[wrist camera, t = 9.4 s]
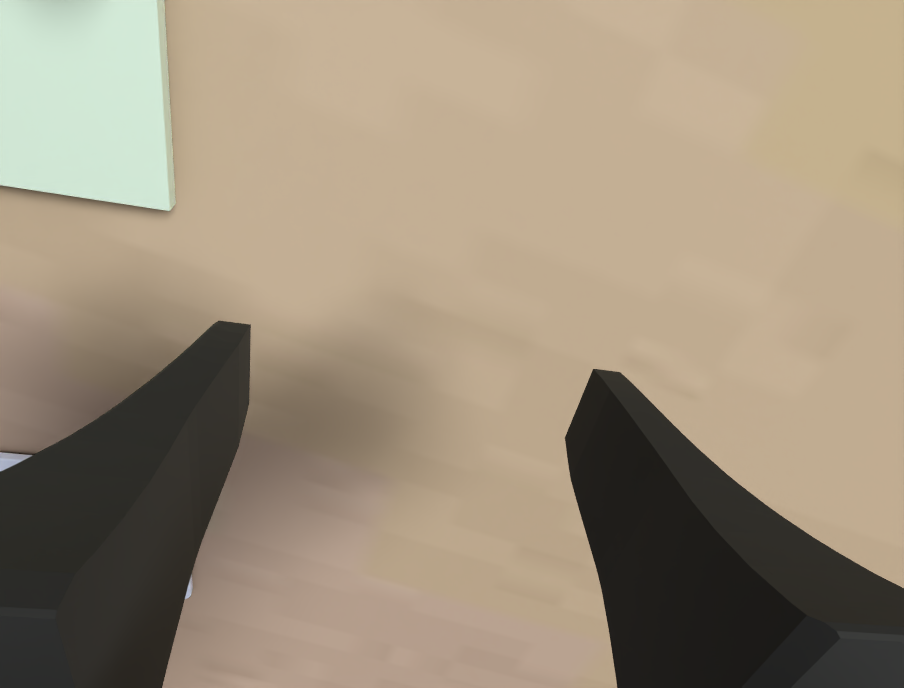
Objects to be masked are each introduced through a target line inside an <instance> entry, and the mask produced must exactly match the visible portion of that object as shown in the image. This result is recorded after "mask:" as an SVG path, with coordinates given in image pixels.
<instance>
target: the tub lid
mask: <svg viewBox="0 0 904 688" xmlns="http://www.w3.org/2000/svg"><path fill="white" fill-rule="evenodd" d="M0 185H3V186H10V187H16V188H23V189H29V190H36V191H42V192H49V193H55V194H62V195H68V196H75V197H81V198H88V199H94V200H101V201H108V202H114V203H121V204H127V205H134V206H140V207H147V208H153V209H160V210H166V211H170V210H171V209H172V208H173V206H174V205H175V204H176V201H175V183H174V165H173V147H172V129H171V112H170V94H169V76H168V58H167V41H166V23H165V5H164V0H0Z"/></svg>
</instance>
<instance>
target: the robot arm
mask: <svg viewBox="0 0 904 688" xmlns="http://www.w3.org/2000/svg"><path fill="white" fill-rule="evenodd" d="M250 328H251V325H248V324H241V323H233V322H225V321H218V322H216V323H215V324H213V325H212V326H211V327H210V328H209V329H208V330H207V331H206V332H205V333H204V334H203V335H201V336H200V337H199V338H198V339H197V340H196V341H195V342H194V343H193V344H192V345H191V346H190V347H189V348H187V349H186V350H185V351H184V352H183V353H182V354H181V355H180V356H178V357H177V358H176V359H175V360H174V361H173V362H171V363H170V364H169V365H168V366H167V367H166V368H164V369H163V370H162V371H161V372H160V373H158V374H157V375H156V376H155V377H154V378H152V379H151V380H150V381H149V382H147V383H146V384H145V385H143V386H142V387H141V388H139V389H138V390H137V391H135V392H134V393H133V394H131V395H130V396H129V397H127V398H126V399H125V400H123V401H122V402H121V403H119V404H118V405H117V406H115V407H114V408H112V409H111V410H109V411H108V412H106V413H105V414H104V415H102V416H101V417H99V418H98V419H96V420H94V421H93V422H91V423H90V424H88V425H87V426H85V427H83V428H82V429H80V430H78V431H77V432H75V433H74V434H72V435H70V436H68V437H67V438H65V439H63V440H61V441H59V442H57V443H56V444H54V445H52V446H50V447H48V448H46V449H44V450H42V451H40V452H38V453H36V454H35V455H24V454H13V453H2V452H0V688H162V685H163V681H164V677H165V673H166V669H167V665H168V661H169V657H170V653H171V649H172V646H173V642H174V638H175V634H176V630H177V626H178V622H179V619H180V615H181V611H182V607H183V603H184V600H185V599H187V598H189V597H190V596H191V593H192V590H193V585H192V570H193V567H194V563H195V560H196V557H197V554H198V551H199V548H200V545H201V542H202V539H203V537H204V534H205V532H206V529H207V526H208V524H209V521H210V519H211V516H212V514H213V511H214V508H215V506H216V503H217V501H218V498H219V496H220V493H221V490H222V488H223V485H224V483H225V480H226V478H227V475H228V472H229V470H230V467H231V465H232V462H233V459H234V457H235V454H236V451H237V449H238V446H239V442H240V438H241V434H242V430H243V426H244V422H245V418H246V414H247V410H248V405H249V381H250ZM565 441H566V449H567V457H568V464H569V471H570V477H571V481H572V485H573V489H574V492H575V496H576V500H577V503H578V507H579V510H580V514H581V517H582V520H583V524H584V527H585V531H586V534H587V538H588V541H589V544H590V548H591V551H592V555H593V558H594V562H595V565H596V568H597V572H598V576H599V580H600V585H601V589H602V594H603V599H604V605H605V611H606V616H607V622H608V628H609V633H610V640H611V647H612V653H613V660H614V667H615V673H616V680H617V688H904V588H902V587H900V586H898V585H896V584H894V583H892V582H890V581H888V580H886V579H884V578H882V577H880V576H878V575H876V574H875V573H873V572H871V571H869V570H867V569H866V568H864V567H862V566H860V565H859V564H857V563H855V562H853V561H852V560H850V559H848V558H846V557H845V556H843V555H841V554H839V553H838V552H836V551H834V550H833V549H831V548H830V547H828V546H826V545H825V544H823V543H821V542H820V541H818V540H817V539H815V538H813V537H812V536H810V535H809V534H807V533H806V532H804V531H803V530H801V529H800V528H798V527H797V526H795V525H794V524H792V523H791V522H789V521H788V520H786V519H785V518H783V517H782V516H781V515H779V514H778V513H776V512H775V511H774V510H772V509H771V508H769V507H768V506H767V505H765V504H764V503H763V502H761V501H760V500H759V499H757V498H756V497H755V496H754V495H752V494H751V493H750V492H748V491H747V490H746V489H745V488H743V487H742V486H741V485H739V484H738V483H737V482H736V481H734V480H733V479H732V478H731V477H730V476H728V475H727V474H726V473H725V472H724V471H723V470H721V469H720V468H719V467H718V466H717V465H716V464H715V463H714V462H712V461H711V460H710V459H709V458H708V457H707V456H706V455H705V454H703V453H702V452H701V451H700V450H699V449H698V448H697V447H696V446H695V445H694V444H693V443H692V442H691V441H689V440H688V439H687V438H686V437H685V436H684V435H683V434H682V433H681V432H680V431H679V430H678V429H677V428H676V427H675V426H674V425H673V424H672V423H671V422H670V421H669V420H668V419H667V418H666V417H665V416H664V415H663V414H662V413H661V412H660V411H659V410H658V409H657V408H656V407H655V406H654V405H653V404H652V403H651V402H650V401H649V400H648V399H647V398H646V397H645V396H644V395H643V394H642V393H641V392H640V391H639V390H638V389H637V388H636V387H635V386H634V385H633V384H632V383H631V382H630V381H629V380H628V379H627V378H626V377H625V376H624V375H622V374H621V373H620V372H614V371H606V370H598V369H593V371H592V373H591V376H590V378H589V381H588V383H587V386H586V388H585V390H584V393H583V395H582V398H581V400H580V403H579V405H578V407H577V410H576V412H575V415H574V417H573V420H572V422H571V424H570V427H569V429H568V432H567V434H566V437H565Z"/></svg>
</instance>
